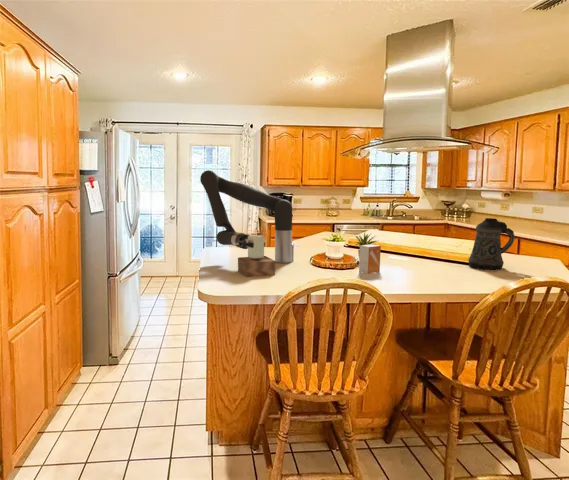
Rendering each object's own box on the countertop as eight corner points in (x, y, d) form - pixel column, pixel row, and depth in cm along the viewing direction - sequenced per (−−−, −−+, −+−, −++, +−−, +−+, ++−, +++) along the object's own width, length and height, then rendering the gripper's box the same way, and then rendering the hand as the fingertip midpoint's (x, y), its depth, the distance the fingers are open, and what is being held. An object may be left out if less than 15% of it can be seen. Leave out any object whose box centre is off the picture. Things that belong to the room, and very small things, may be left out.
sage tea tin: (258, 255, 218) (258, 235, 217) (264, 257, 214) (264, 236, 212) (247, 256, 215) (247, 235, 214) (253, 258, 211) (253, 237, 209)
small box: (367, 274, 214) (368, 247, 212) (358, 271, 219) (359, 245, 217) (380, 272, 218) (381, 245, 216) (370, 269, 223) (371, 243, 222)
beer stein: (462, 264, 239) (465, 217, 235) (499, 264, 239) (502, 217, 235) (476, 270, 222) (479, 220, 219) (515, 270, 222) (519, 220, 219)
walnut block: (265, 269, 225) (265, 255, 224) (274, 275, 212) (274, 260, 211) (238, 271, 220) (237, 257, 219) (246, 277, 207) (246, 262, 206)
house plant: (361, 265, 234) (362, 234, 231) (344, 261, 246) (345, 231, 243) (382, 263, 241) (383, 232, 239) (365, 258, 253) (365, 229, 250)
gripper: (228, 234, 221) (245, 238, 207) (253, 232, 229) (271, 236, 215) (228, 249, 222) (245, 254, 208) (254, 246, 230) (271, 251, 216)
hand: (258, 245), depth 212 cm, fingers closed on sage tea tin, 5 cm apart
